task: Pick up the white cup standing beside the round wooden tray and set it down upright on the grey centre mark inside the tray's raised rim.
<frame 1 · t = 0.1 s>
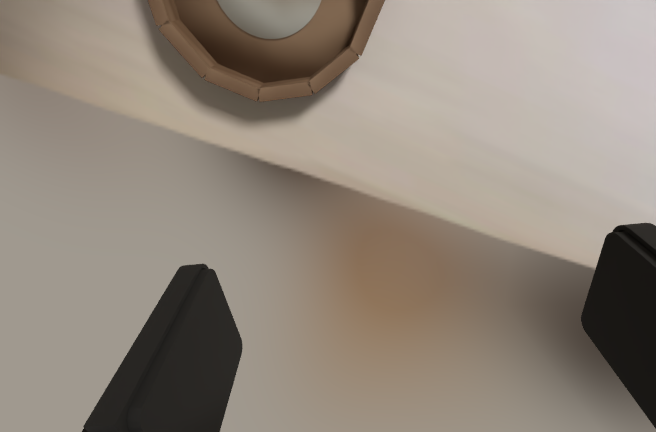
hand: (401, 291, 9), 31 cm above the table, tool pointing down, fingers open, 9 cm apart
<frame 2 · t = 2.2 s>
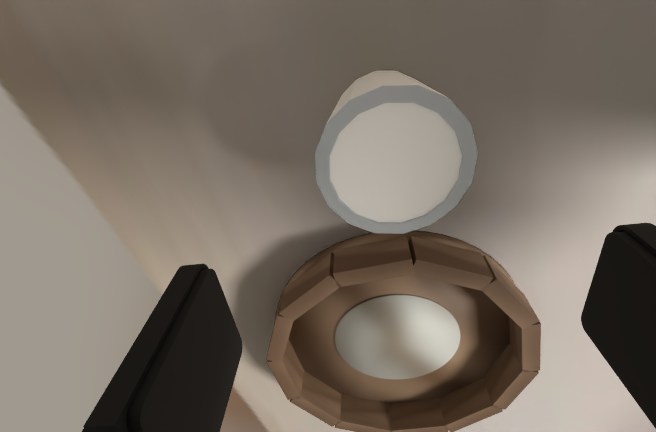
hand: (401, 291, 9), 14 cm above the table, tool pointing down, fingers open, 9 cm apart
white cup: (382, 119, 21), on the table
round wooden tray: (395, 329, 30), on the table
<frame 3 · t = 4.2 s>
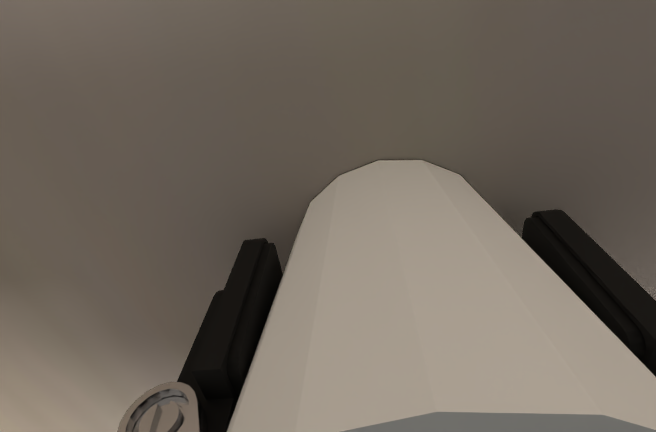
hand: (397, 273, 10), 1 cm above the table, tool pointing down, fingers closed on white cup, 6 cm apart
white cup: (391, 244, 11), on the table, touching gripper
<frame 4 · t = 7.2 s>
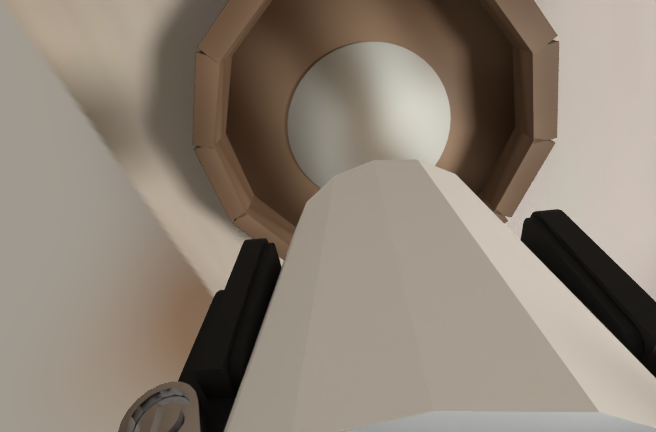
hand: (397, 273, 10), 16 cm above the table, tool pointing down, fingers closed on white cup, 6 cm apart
white cup: (388, 243, 11), point 14 cm above the table, touching gripper
round wooden tray: (366, 124, 23), on the table
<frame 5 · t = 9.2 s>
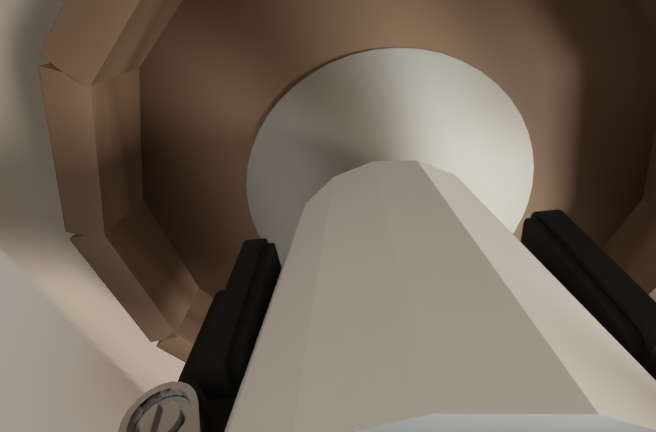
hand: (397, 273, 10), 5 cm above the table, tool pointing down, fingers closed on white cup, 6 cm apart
white cup: (387, 244, 11), point 4 cm above the table, touching gripper
round wooden tray: (382, 185, 14), on the table
when the fingers open (3 cm above the table, at t = 10.5 s): white cup drops 1 cm, resting on round wooden tray.
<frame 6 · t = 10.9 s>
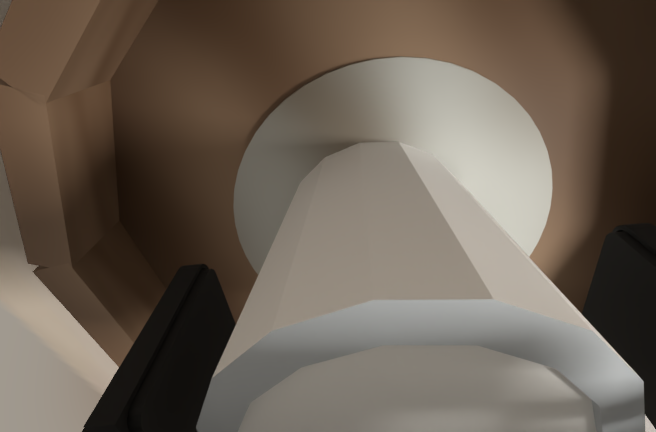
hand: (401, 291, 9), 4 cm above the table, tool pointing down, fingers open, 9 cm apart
white cup: (375, 220, 12), point 1 cm above the table, touching round wooden tray
round wooden tray: (384, 206, 13), on the table
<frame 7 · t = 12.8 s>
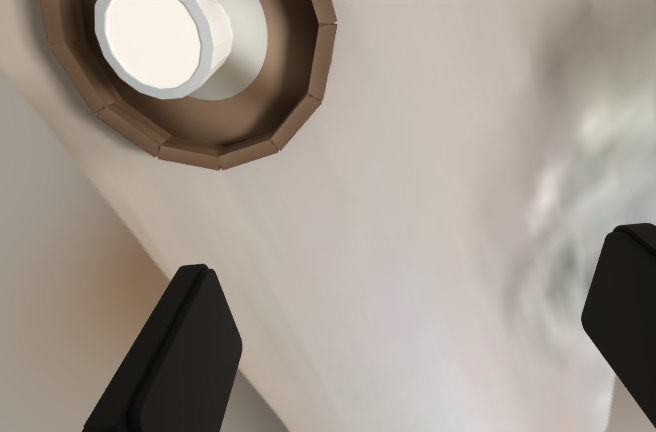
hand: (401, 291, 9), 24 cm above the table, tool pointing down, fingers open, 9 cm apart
white cup: (196, 31, 27), point 1 cm above the table, touching round wooden tray
round wooden tray: (205, 30, 28), on the table
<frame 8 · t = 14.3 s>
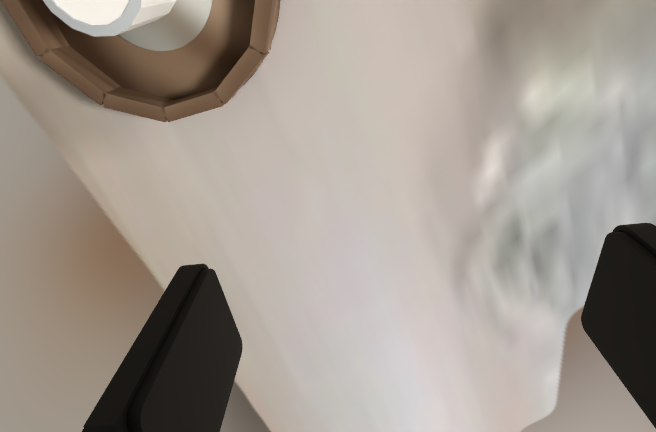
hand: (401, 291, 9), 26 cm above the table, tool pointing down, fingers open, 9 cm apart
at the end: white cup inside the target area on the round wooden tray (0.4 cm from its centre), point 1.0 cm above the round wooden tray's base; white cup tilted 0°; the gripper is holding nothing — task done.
